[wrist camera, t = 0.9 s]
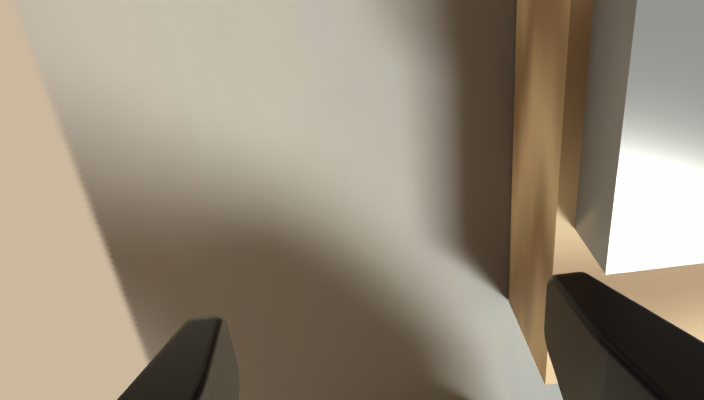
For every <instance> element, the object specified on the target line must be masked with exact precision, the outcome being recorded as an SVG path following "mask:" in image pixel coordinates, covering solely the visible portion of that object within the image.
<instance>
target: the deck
mask: <svg viewBox="0 0 704 400" xmlns="http://www.w3.org/2000/svg"><path fill="white" fill-rule="evenodd" d="M593 3H594V0H517V11H516V49H515V86H514V124H513V162H512V199H511V237H510V275H509V303H510V305H511V308H512V310H513V312H514V314H515V317H516V319H517V321H518V324H519V326H520V328H521V331H522V333H523V335H524V337H525V340H526V342H527V344H528V347H529V349H530V351H531V353H532V356H533V358H534V360H535V363H536V365H537V367H538V370H539V372H540V374H541V376H542V379H543V381H544V383H545V385H550V384H558V382H557V378H556V375H555V372H554V369H553V366H552V363H551V360H550V357H549V353H548V350H547V347H546V342H545V336H544V319H545V302H546V287H547V282H548V279H549V278H550V277H551V276H552V275H555V274H564V273H572V272H585V273H587V274H589V275H591V276H593V277H594V278H596V279H598V280H599V281H601V282H603V283H604V284H606V285H608V286H609V287H611V288H613V289H615V290H616V291H618V292H620V293H621V294H623V295H625V296H626V297H628V298H630V299H631V300H633V301H635V302H637V303H638V304H640V305H642V306H643V307H645V308H647V309H648V310H650V311H652V312H653V313H655V314H657V315H658V316H660V317H662V318H664V319H665V320H667V321H669V322H670V323H672V324H674V325H675V326H677V327H679V328H680V329H682V330H684V331H686V332H687V333H689V334H691V335H692V336H694V337H696V338H697V339H699V340H701V341H702V342H704V263H697V264H689V265H680V266H672V267H664V268H656V269H647V270H639V271H631V272H623V273H614V274H606V275H605V273H604V272H603V270H602V269H601V267H600V266H599V264H598V263H597V261H596V260H595V258H594V257H593V255H592V254H591V252H590V251H589V249H588V248H587V246H586V245H585V243H584V242H583V240H582V239H581V237H580V236H579V235H578V233H577V232H576V230H575V219H576V207H577V195H578V183H579V171H580V159H581V147H582V135H583V123H584V111H585V99H586V87H587V75H588V63H589V51H590V39H591V27H592V15H593Z"/></svg>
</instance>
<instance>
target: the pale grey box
mask: <svg viewBox="0 0 704 400" xmlns="http://www.w3.org/2000/svg"><path fill="white" fill-rule="evenodd" d="M575 230H576V232H577V233H578V235H579V236H580V237H581V239H582V240H583V242H584V243H585V245H586V246H587V248H588V249H589V251H590V252H591V254H592V255H593V257H594V258H595V260H596V261H597V263H598V264H599V266H600V267H601V269H602V270H603V272H604V273H605V275H606V274H614V273H623V272H631V271H639V270H647V269H656V268H664V267H672V266H680V265H689V264H697V263H704V0H594V3H593V15H592V27H591V39H590V51H589V63H588V75H587V87H586V99H585V111H584V123H583V135H582V147H581V159H580V171H579V183H578V195H577V207H576V219H575Z"/></svg>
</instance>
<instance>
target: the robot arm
mask: <svg viewBox="0 0 704 400" xmlns="http://www.w3.org/2000/svg"><path fill="white" fill-rule="evenodd" d="M544 336H545V342H546V347H547V350H548V353H549V357H550V360H551V363H552V366H553V369H554V372H555V375H556V378H557V382H558V385H559V388H560V391H561V394H562V397H563V400H704V342H702V341H701V340H699V339H697V338H696V337H694V336H692V335H691V334H689V333H687V332H686V331H684V330H682V329H680V328H679V327H677V326H675V325H674V324H672V323H670V322H669V321H667V320H665V319H664V318H662V317H660V316H658V315H657V314H655V313H653V312H652V311H650V310H648V309H647V308H645V307H643V306H642V305H640V304H638V303H637V302H635V301H633V300H631V299H630V298H628V297H626V296H625V295H623V294H621V293H620V292H618V291H616V290H615V289H613V288H611V287H609V286H608V285H606V284H604V283H603V282H601V281H599V280H598V279H596V278H594V277H593V276H591V275H589V274H587V273H585V272H572V273H564V274H555V275H552V276H551V277H550V278H549V279H548V282H547V287H546V302H545V319H544ZM117 400H239V374H238V367H237V363H236V359H235V355H234V351H233V347H232V342H231V338H230V334H229V330H228V326H227V323H226V321H225V319H224V318H223V317H222V316H219V315H217V316H208V317H200V318H193V319H190V320H188V321H187V322H186V323H185V324H184V325H183V326H182V327H181V328H180V329H179V330H178V332H177V333H176V334H175V335H174V336H173V337H172V338H171V339H170V341H169V342H168V343H167V344H166V345H165V346H164V347H163V349H162V350H161V351H160V352H159V353H158V354H157V355H156V356H155V358H154V359H153V360H152V361H151V362H150V363H149V364H148V365H147V367H146V368H145V369H144V370H143V371H142V372H141V374H140V375H139V376H138V377H137V378H136V379H135V380H134V381H133V382H132V384H131V385H130V386H129V387H128V388H127V389H126V390H125V392H124V393H123V394H122V395H121V396H120V397H119V398H118V399H117Z"/></svg>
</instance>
